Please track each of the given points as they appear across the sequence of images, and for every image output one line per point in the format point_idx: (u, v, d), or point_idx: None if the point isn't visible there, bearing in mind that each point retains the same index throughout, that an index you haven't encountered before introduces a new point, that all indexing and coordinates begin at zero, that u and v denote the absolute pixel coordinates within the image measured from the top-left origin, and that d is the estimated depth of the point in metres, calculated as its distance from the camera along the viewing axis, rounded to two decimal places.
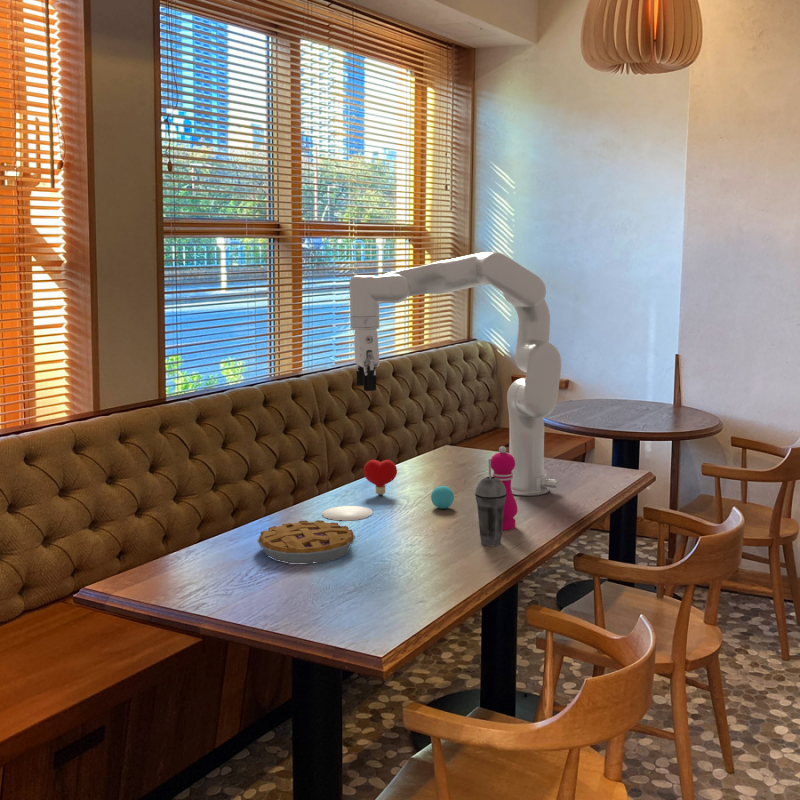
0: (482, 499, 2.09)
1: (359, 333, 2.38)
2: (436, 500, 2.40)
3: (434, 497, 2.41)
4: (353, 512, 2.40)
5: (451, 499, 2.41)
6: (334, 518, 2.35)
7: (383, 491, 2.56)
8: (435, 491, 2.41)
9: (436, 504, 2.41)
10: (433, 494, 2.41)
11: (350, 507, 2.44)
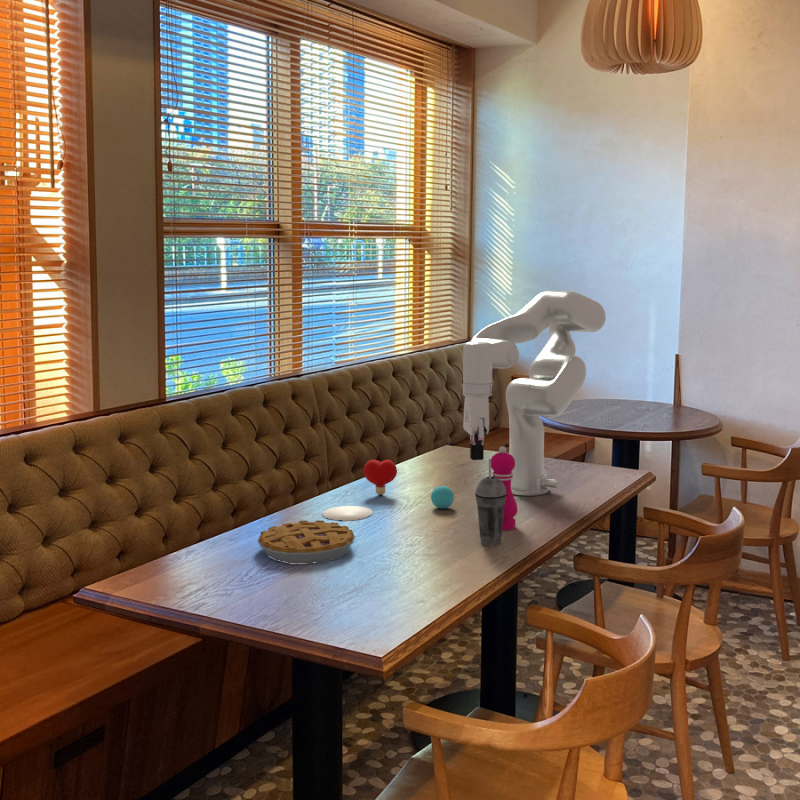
0: (482, 499, 2.09)
1: None
2: (436, 500, 2.40)
3: (434, 497, 2.41)
4: (353, 512, 2.40)
5: (451, 499, 2.41)
6: (334, 518, 2.35)
7: (383, 491, 2.56)
8: (435, 491, 2.41)
9: (436, 504, 2.41)
10: (433, 494, 2.41)
11: (350, 507, 2.44)
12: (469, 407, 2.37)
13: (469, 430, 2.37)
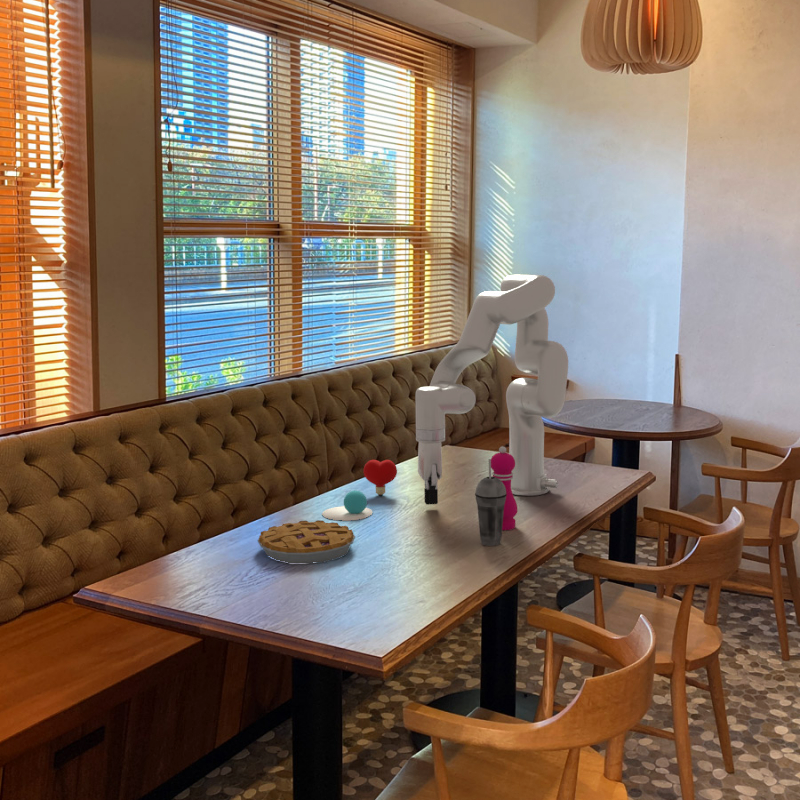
0: (482, 499, 2.09)
1: None
2: (353, 511, 2.37)
3: (350, 511, 2.38)
4: None
5: (359, 497, 2.37)
6: (334, 518, 2.35)
7: (383, 491, 2.56)
8: (345, 507, 2.38)
9: (358, 512, 2.38)
10: (347, 510, 2.38)
11: None
12: (422, 453, 2.37)
13: (422, 476, 2.38)
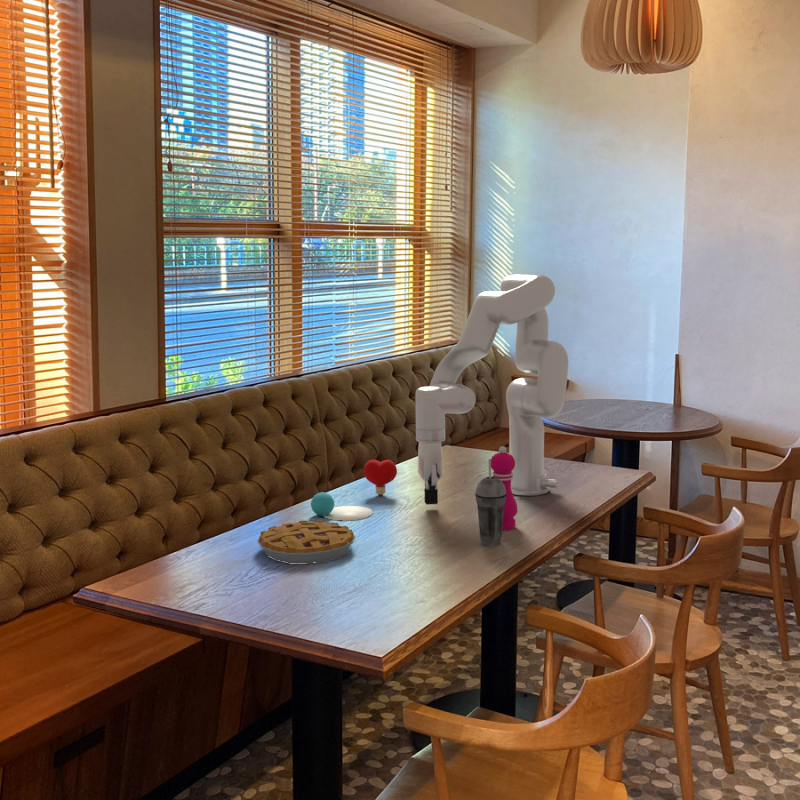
0: (482, 499, 2.09)
1: None
2: (328, 499, 2.36)
3: (330, 499, 2.36)
4: (353, 512, 2.40)
5: (317, 512, 2.36)
6: (334, 518, 2.35)
7: (383, 491, 2.56)
8: (333, 503, 2.37)
9: (324, 496, 2.36)
10: (332, 500, 2.37)
11: (350, 507, 2.44)
12: (422, 453, 2.37)
13: (422, 476, 2.38)
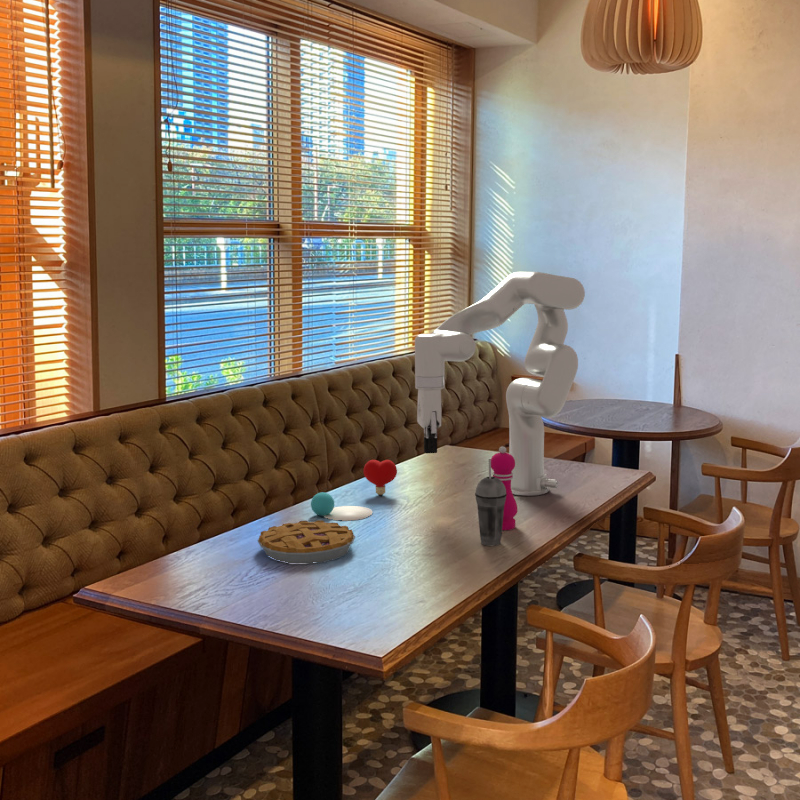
0: (482, 499, 2.09)
1: None
2: (328, 499, 2.36)
3: (330, 499, 2.36)
4: (353, 512, 2.40)
5: (317, 512, 2.36)
6: (334, 518, 2.35)
7: (383, 491, 2.56)
8: (333, 503, 2.37)
9: (324, 496, 2.36)
10: (332, 500, 2.37)
11: (350, 507, 2.44)
12: (421, 400, 2.35)
13: (421, 423, 2.35)
